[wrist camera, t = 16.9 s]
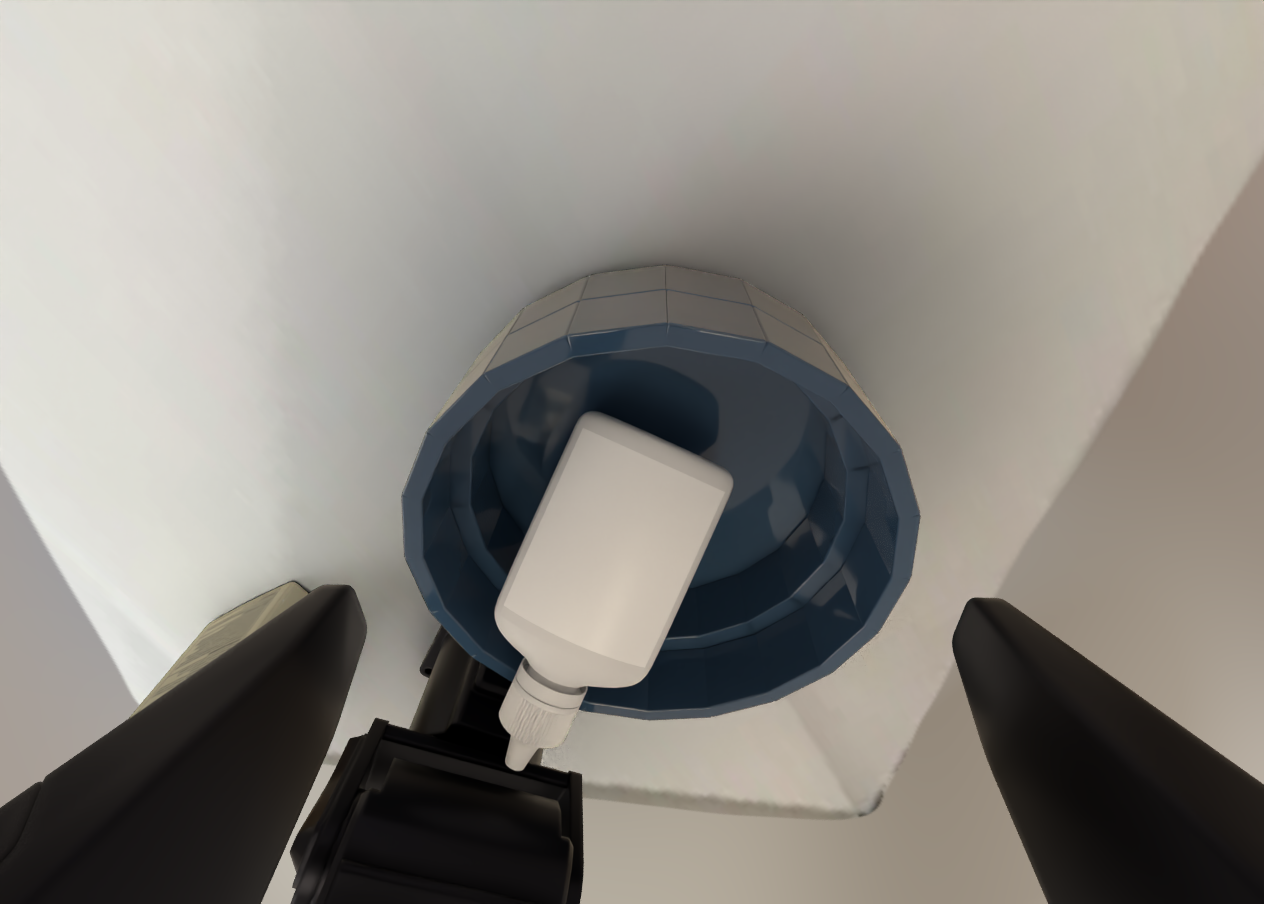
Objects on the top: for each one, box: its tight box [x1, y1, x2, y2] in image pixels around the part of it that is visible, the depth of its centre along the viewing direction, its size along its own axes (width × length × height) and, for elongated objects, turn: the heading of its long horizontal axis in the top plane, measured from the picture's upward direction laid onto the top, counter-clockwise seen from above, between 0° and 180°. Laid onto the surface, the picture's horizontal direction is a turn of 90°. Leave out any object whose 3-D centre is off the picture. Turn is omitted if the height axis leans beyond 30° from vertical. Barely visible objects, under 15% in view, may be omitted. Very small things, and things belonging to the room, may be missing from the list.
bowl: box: [401, 265, 920, 720], centre depth 20 cm, size 15×15×6 cm
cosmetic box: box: [129, 582, 308, 718], centre depth 23 cm, size 6×4×12 cm
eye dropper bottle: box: [494, 411, 733, 771], centre depth 20 cm, size 4×6×12 cm
